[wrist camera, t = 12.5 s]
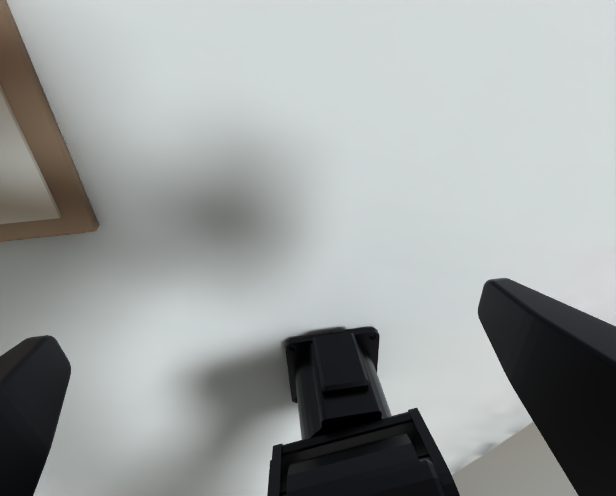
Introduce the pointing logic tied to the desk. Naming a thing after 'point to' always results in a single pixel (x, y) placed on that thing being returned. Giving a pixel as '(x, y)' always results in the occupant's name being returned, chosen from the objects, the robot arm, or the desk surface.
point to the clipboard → (33, 153)
